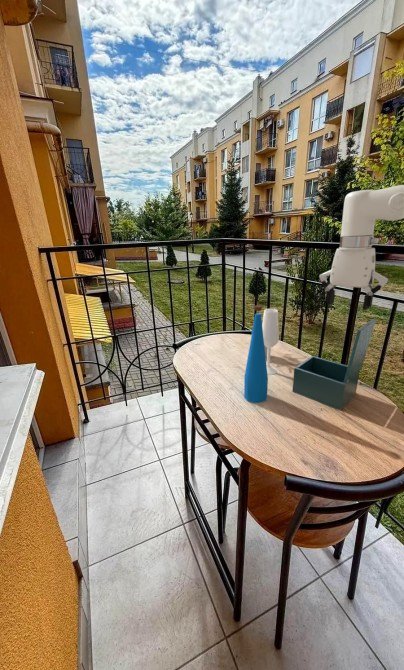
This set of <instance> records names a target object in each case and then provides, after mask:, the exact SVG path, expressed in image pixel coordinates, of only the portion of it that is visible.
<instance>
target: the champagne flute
mask: <svg viewBox="0 0 404 670" xmlns="http://www.w3.org/2000/svg"><path fill="white" fill-rule="evenodd" d="M262 322H263V323H262V329H263V338H264V345H265V346H266V347H267V348H268V349H267V357H266V365H267V375H268V376H272V375H275V374H277V373H278V371H277V368H274V367H273V366H271V352H272V348H273V347H275V346H276V345H277V344H279V341H280V330H279V325H278V324H279V310H278V309H276V308H265V309H264V310H263V316H262Z"/></svg>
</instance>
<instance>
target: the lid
mask: <svg viewBox="0 0 404 670" xmlns="http://www.w3.org/2000/svg"><path fill="white" fill-rule="evenodd" d="M376 321H377V319H375V318H372V319H371V320H370V321H368V322H366V323H365V324H364V325H363V326H361V327H360V328H358V329H357V331H356V335H355V338H354V342H353V345H352V350H351V354H350V358H349V361H348V364H347V366H348V368H347V372H346V375H345V379H344V383H346V384H347V383H348V382H349V381H350V380H351V379H352V378H353V377H354V376H355V375H356V374H357V373H358V372H359V371H360V372H361V370H362V368H363V365H364V362H365V358H366V355H367V352H368V348H369V345H370V342H371V339H372V334H373V332H374V327H375V326H376V325H375V324H376ZM360 372H359V373H360Z"/></svg>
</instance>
